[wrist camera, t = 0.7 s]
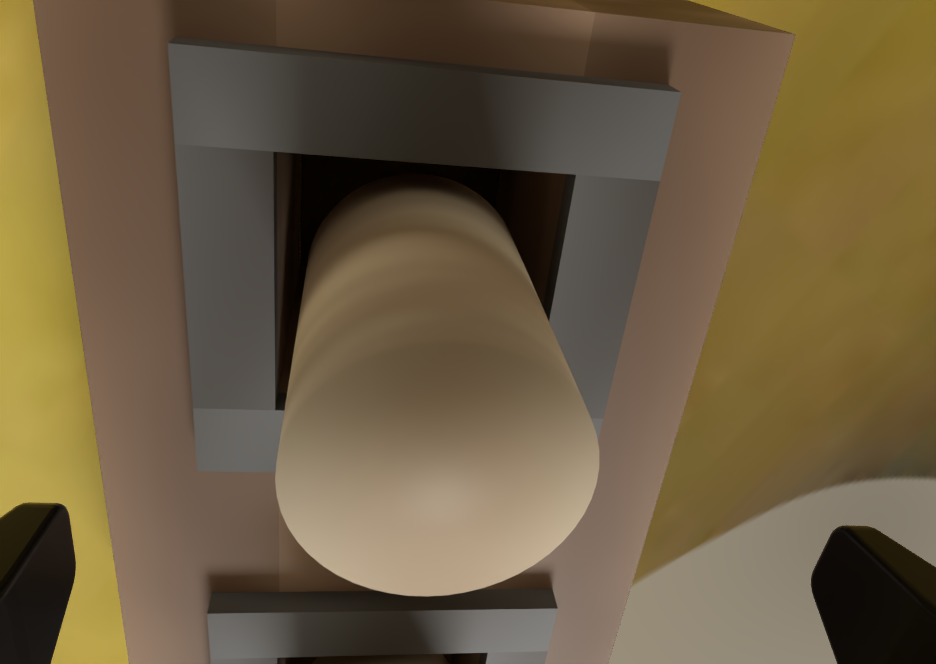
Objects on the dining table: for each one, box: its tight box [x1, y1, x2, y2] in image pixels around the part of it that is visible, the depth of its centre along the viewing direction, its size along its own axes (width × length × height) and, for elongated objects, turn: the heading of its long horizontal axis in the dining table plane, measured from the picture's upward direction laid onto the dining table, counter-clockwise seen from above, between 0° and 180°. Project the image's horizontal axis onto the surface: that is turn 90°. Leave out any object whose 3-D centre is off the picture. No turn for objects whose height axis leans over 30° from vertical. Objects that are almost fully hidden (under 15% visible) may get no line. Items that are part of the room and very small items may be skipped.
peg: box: [275, 174, 599, 596], centre depth 12 cm, size 4×4×6 cm
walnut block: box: [33, 0, 795, 664], centre depth 20 cm, size 12×22×7 cm, turn 173°
